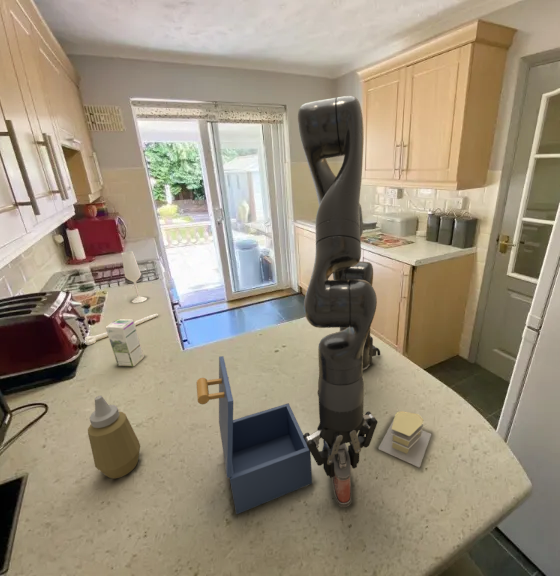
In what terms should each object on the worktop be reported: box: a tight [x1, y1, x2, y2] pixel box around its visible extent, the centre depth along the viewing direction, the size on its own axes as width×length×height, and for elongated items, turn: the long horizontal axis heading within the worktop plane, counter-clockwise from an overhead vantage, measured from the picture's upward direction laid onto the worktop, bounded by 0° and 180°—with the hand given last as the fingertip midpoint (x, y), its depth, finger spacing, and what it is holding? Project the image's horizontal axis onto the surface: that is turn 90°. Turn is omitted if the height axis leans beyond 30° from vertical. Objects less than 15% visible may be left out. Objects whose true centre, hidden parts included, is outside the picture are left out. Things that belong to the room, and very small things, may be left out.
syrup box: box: [105, 318, 145, 367], centre depth 100 cm, size 6×6×14 cm
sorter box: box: [229, 403, 313, 515], centre depth 62 cm, size 15×14×9 cm
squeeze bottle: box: [87, 395, 141, 479], centre depth 62 cm, size 8×8×18 cm
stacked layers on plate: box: [377, 410, 432, 469], centre depth 68 cm, size 10×9×6 cm
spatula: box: [84, 313, 159, 346], centre depth 124 cm, size 28×4×3 cm, turn 148°
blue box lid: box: [196, 355, 234, 479], centre depth 55 cm, size 15×14×5 cm
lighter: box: [332, 443, 352, 508], centre depth 58 cm, size 8×3×10 cm, turn 5°
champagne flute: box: [120, 251, 148, 304], centre depth 148 cm, size 7×7×24 cm
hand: (341, 468), depth 58 cm, fingers closed on lighter, 4 cm apart
